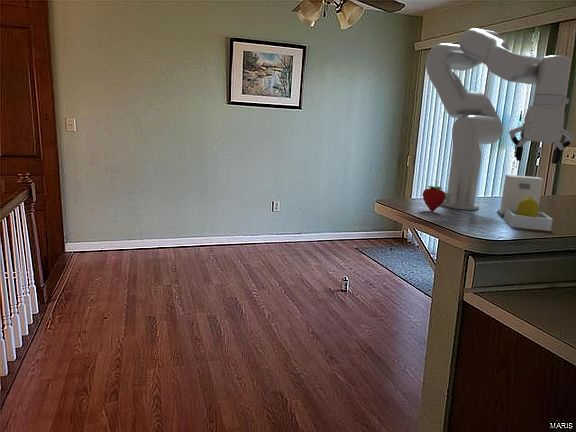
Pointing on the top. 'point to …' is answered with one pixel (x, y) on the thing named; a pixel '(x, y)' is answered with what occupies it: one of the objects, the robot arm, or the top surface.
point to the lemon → (528, 207)
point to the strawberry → (433, 197)
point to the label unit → (519, 191)
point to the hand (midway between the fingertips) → (536, 161)
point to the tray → (528, 220)
